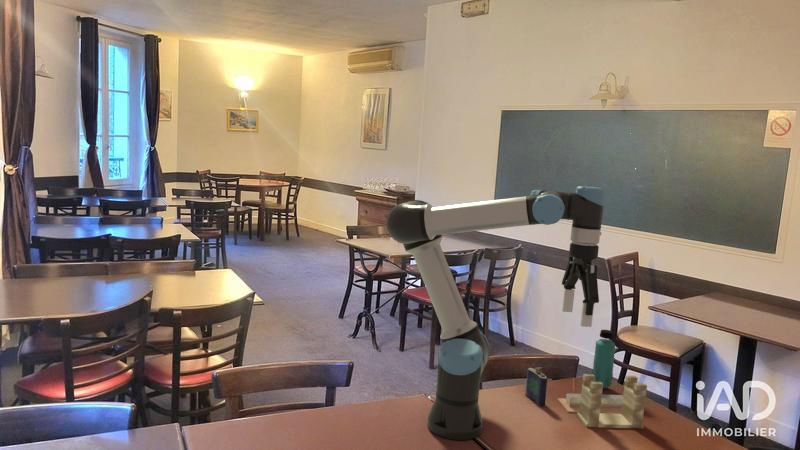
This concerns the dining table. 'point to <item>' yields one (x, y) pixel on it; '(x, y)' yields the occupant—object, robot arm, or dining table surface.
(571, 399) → the rail
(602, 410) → the mat
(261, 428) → the dining table surface
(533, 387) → the flask
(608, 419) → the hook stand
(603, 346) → the beverage bottle
